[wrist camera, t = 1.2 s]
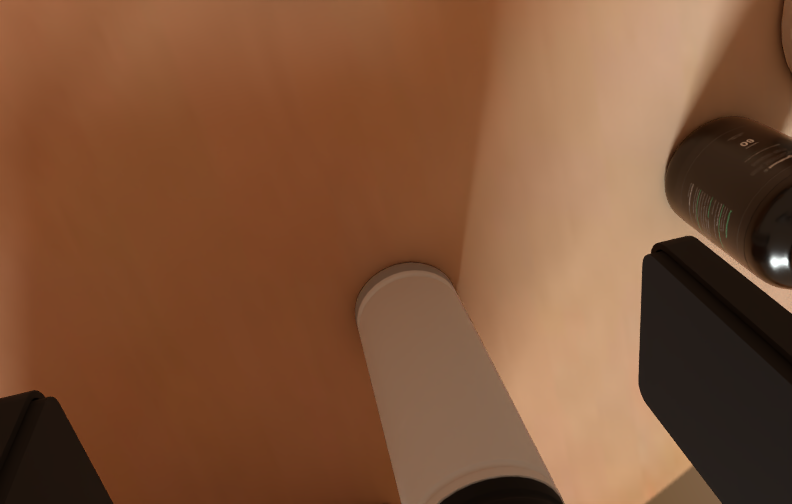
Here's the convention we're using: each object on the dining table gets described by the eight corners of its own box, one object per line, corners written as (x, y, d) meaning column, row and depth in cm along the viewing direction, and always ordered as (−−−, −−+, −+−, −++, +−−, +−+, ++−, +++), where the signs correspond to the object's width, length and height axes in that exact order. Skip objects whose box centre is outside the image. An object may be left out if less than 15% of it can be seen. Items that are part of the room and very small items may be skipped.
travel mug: (341, 346, 41) (408, 674, 24) (369, 252, 39) (466, 547, 21) (436, 357, 43) (561, 669, 26) (468, 268, 41) (632, 552, 23)
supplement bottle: (770, 100, 39) (959, 177, 29) (762, 203, 42) (928, 306, 32) (660, 130, 39) (811, 220, 28) (661, 232, 42) (795, 346, 32)
